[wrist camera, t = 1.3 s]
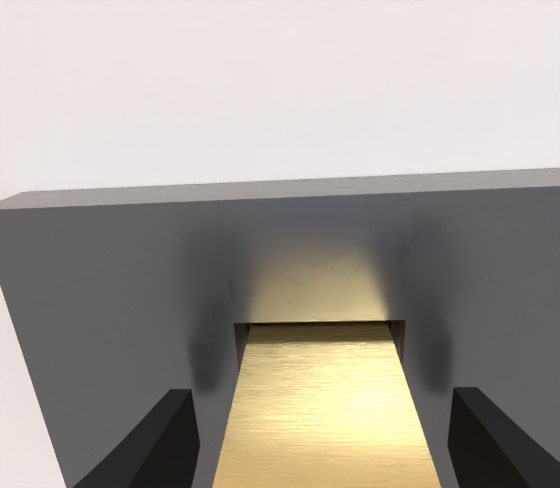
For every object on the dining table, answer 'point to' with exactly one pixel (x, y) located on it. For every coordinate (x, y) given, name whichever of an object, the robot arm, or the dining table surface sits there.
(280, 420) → the brushed gold bar
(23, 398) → the dining table surface
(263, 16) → the dining table surface
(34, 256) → the grey board with hole
